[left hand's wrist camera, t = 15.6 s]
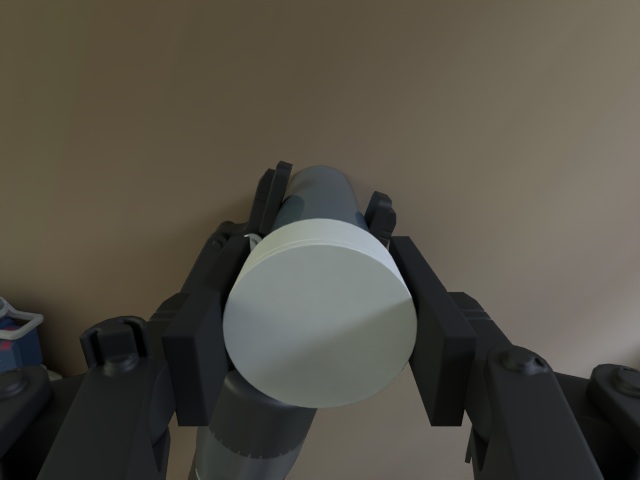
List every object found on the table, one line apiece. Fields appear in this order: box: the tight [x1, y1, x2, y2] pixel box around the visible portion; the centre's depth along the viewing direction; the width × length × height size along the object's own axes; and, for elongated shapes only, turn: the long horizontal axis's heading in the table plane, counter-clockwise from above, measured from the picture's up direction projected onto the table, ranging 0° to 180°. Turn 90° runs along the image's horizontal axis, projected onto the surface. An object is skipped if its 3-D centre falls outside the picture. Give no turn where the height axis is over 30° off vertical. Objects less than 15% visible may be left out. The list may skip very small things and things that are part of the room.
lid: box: [222, 219, 417, 408], centre depth 11 cm, size 6×6×2 cm
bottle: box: [270, 166, 370, 234], centre depth 18 cm, size 5×5×15 cm
